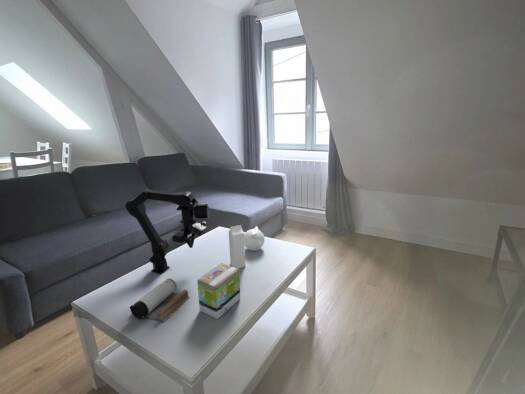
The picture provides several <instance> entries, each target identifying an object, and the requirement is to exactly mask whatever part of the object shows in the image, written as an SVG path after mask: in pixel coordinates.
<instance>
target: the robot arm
mask: <svg viewBox="0 0 525 394" xmlns="http://www.w3.org/2000/svg"><path fill="white" fill-rule="evenodd" d="M148 200H152V201H161V202H170V203H174V204H175V205H177V206H178V207H177V208H176V209H175V210H176V211H180V214H181V215H180V216H181V220H180V224H182V228H181V229H180V232H177V233H175V234H173V236H171V239H172V242H175V243H180V244H184V243H186V244H187V246H188V248H190V249H193V247H194V243H195V239H196V237H197V236H198V237H201V236H202V235H204V234H205V232H206V230H208V225H207V224H208V223H207V222H206V221H203V222H201V221H197V219H210V216H211V209H210V207H209V203H204V204H202V203H201V204H199V201H198V200H196V198H195V197H194V195H193V193H192V192H190V191H188V190H187V191H177V192H171V191H170V192H169V191H165V190H164V191H162V190H154V189H150V188H146V189H145V190H143V191H142V192H141V193H140V194H138V195H137V196H136V197H133V198H131V199H129V200H128V201H127V202H126V203H125V206H124V208H125V210H126V212H128V213H129V215H130V216H132V217H133V218H134V219H136V220H137V222H138V224H139V226H140V227H141V230H143V232H144V233H145V236H146V237H147V239H148V241H149V242H150V244H151V245H150V246H151V252H152V255H151V257H149V262H150V264H152V268H153V269H151V271H150V272H152V273H155V274H160V275H161V274H163V273H164V272H166V271H167V270H168V269H169V268H170V266H168V262H167V258H166V256H167V254H168V253H169V252H170V249H171V248H170V243H168V241H167V239H166V238H164V239H163V238H161V237H160V235H159V234H158V232H157V230H156V229H155V226H154V224H153V222H152V221H151V219H150V218H149V217H148V215H147V210H146V205H145V202H146V201H148Z"/></svg>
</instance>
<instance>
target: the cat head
mask: <svg viewBox="0 0 525 394" xmlns="http://www.w3.org/2000/svg"><path fill="white" fill-rule="evenodd" d="M264 244H265V235H264V233H263V232H262V231H261V230H260V229H259V227H258V226H255V227H254V228H252V229H248V230H247V231H246V232H244V247H245V248H246V249H247V250H249V251H253V252H256V251H258V250H261V248H262V247H263V245H264Z"/></svg>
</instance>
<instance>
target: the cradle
mask: <svg viewBox="0 0 525 394" xmlns="http://www.w3.org/2000/svg"><path fill="white" fill-rule="evenodd" d="M160 284H161V283H159V284H158V285H157V286H159V285H160ZM157 286H155V287H154V288H153V289H155V288H156V287H157ZM151 291H152V290H150V291H149V292H148V293H150V292H151ZM148 293H146V294H145V295H144V296H146V295H147V294H148ZM144 296H142V297H141V298H140V299H142V298H143V297H144ZM190 298H191V297H190V296H189V291H188V289H183V290H182V291H181V292H179V293H178V292H175V291H174V292H173V293H172V294H171V295H169V296H168V297H167V298H166V299H165V300H164V301H162V302H161V303H160V304H159V305H158V306H157V307H155V308H154V309H153V310H152V311H151V312H150V313H148V314H147V315H146V316H145V317H147V318H150V319H153V320H155V321H159V322H162V323H165V322H166V321H167V320H168V319H169V318H170V317H171V316H172V315H174V313H176V311H177V310H178V309H180V308H181V306H183V305H184V304H185V303H186V302H187V301H188V300H189V299H190ZM138 301H139V300H137V301H136V302H134V303H133V304H132V306H133V305H134V304H136V303H137V302H138Z"/></svg>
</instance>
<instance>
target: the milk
mask: <svg viewBox="0 0 525 394" xmlns="http://www.w3.org/2000/svg"><path fill="white" fill-rule="evenodd" d="M244 234H245V232H244V230H243V227H242V225H241V224H240V225H235V226H230V228H229V230H228V244H229V245H228V246H229V258H230V266H231V267H234V268H237V269H241V268H245V267H246V253H245V252H246V251H245V248H246V247H245V245H244Z"/></svg>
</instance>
